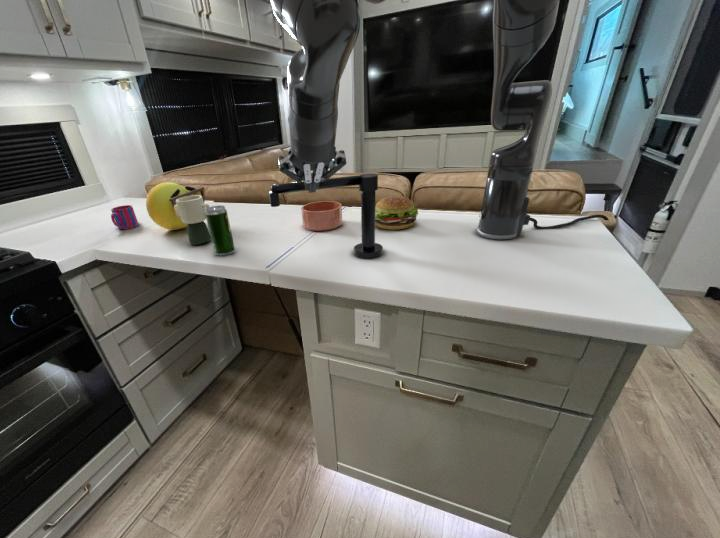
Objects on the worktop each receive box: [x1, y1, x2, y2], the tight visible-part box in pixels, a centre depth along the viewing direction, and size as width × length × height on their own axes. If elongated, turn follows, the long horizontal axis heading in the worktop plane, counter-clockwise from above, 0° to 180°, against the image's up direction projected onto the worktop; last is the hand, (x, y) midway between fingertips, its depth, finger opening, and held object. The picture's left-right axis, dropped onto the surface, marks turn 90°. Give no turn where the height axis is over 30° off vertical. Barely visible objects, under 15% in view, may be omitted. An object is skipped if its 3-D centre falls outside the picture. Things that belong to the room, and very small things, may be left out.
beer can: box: [205, 204, 236, 257], centre depth 86 cm, size 5×5×12 cm
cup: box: [110, 204, 140, 230], centre depth 116 cm, size 7×10×7 cm
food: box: [375, 195, 419, 231], centre depth 97 cm, size 14×14×8 cm
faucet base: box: [353, 191, 384, 260], centre depth 77 cm, size 7×7×15 cm
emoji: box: [145, 181, 206, 231], centre depth 108 cm, size 16×16×15 cm
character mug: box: [174, 195, 212, 245], centre depth 94 cm, size 11×7×13 cm, turn 79°
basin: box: [300, 200, 343, 232], centre depth 101 cm, size 12×12×6 cm
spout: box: [268, 173, 379, 208], centre depth 72 cm, size 24×4×4 cm, turn 98°
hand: (311, 188), depth 68 cm, fingers closed
